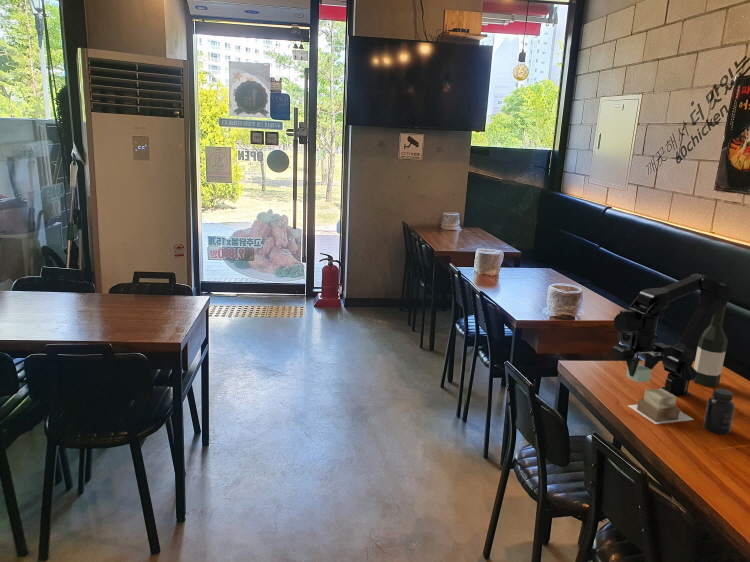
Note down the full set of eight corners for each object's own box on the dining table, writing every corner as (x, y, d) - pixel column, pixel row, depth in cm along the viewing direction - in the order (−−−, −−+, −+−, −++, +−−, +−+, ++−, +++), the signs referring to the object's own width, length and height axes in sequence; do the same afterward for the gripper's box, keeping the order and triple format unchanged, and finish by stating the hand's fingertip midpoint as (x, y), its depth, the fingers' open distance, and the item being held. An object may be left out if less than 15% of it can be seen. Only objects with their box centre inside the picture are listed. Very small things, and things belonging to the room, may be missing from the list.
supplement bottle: (726, 426, 165) (734, 389, 162) (732, 437, 158) (740, 398, 156) (700, 422, 167) (707, 385, 164) (705, 432, 161) (713, 394, 158)
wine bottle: (719, 381, 198) (735, 299, 190) (718, 389, 191) (735, 304, 183) (692, 375, 202) (707, 295, 195) (690, 383, 195) (706, 300, 188)
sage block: (638, 375, 184) (640, 363, 183) (649, 381, 180) (651, 369, 179) (626, 376, 183) (627, 364, 182) (636, 382, 178) (638, 370, 177)
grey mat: (664, 402, 179) (664, 401, 179) (694, 420, 168) (694, 419, 168) (627, 406, 175) (627, 405, 175) (655, 424, 164) (655, 424, 164)
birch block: (659, 398, 173) (661, 388, 172) (674, 407, 167) (676, 396, 166) (643, 400, 171) (645, 389, 170) (657, 409, 166) (659, 398, 165)
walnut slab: (658, 407, 175) (660, 397, 174) (677, 419, 167) (680, 408, 166) (636, 409, 173) (638, 399, 172) (655, 422, 165) (657, 411, 164)
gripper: (652, 320, 187) (644, 364, 191) (604, 323, 182) (597, 367, 186) (677, 331, 177) (669, 377, 181) (627, 334, 172) (620, 381, 176)
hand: (638, 375), depth 181 cm, fingers closed on sage block, 5 cm apart
